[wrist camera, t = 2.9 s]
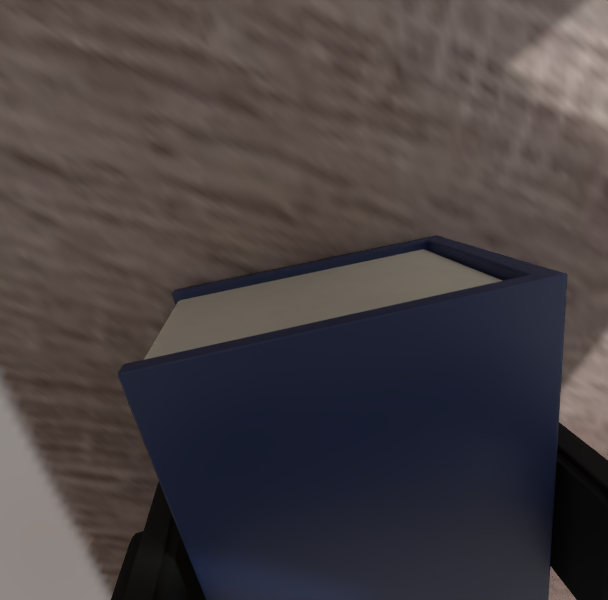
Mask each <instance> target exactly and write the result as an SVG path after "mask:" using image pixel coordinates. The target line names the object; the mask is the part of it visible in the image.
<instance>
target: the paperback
mask: <svg viewBox="0 0 608 600" xmlns="http://www.w3.org/2000/svg"><path fill="white" fill-rule="evenodd" d="M566 289H567V274H565V273H562V272H559V271H555V270H551V269H547V268H544V267H541V266H537V265H534V264H531V263H527V262H524V261H520V260H517V259H514V258H510V257H507V256H504V255H500V254H497V253H494V252H490V251H487V250H484V249H480V248H477V247H473V246H470V245H467V244H463V243H460V242H457V241H453V240H450V239H447V238H443V237H441V236H432V237H427V238H422V239H418V240H413V241H408V242H403V243H398V244H393V245H389V246H384V247H379V248H374V249H369V250H365V251H360V252H355V253H350V254H345V255H341V256H336V257H331V258H326V259H321V260H316V261H312V262H307V263H302V264H297V265H292V266H288V267H283V268H278V269H273V270H268V271H264V272H259V273H254V274H249V275H244V276H239V277H235V278H230V279H225V280H220V281H215V282H211V283H206V284H201V285H196V286H191V287H187V288H182V289H177V290H174V292H173V293H172V295H173V298H174V301H175V305H176V306H175V307H174V309H173V311H172V312H171V314H170V316H169V317H168V319H167V321H166V322H165V324H164V326H163V327H162V329H161V331H160V332H159V334H158V336H157V338H156V339H155V341H154V343H153V344H152V346H151V348H150V349H149V351H148V353H147V354H146V356H145V358H144V359H143V360H141V361H136V362H132V363H127V364H124V365H123V366H122V368H121V369H120V371H119V372H118V378H119V380H120V383H121V385H122V388H123V390H124V393H125V395H126V398H127V400H128V403H129V406H130V408H131V411H132V413H133V416H134V418H135V421H136V423H137V426H138V428H139V431H140V434H141V436H142V439H143V441H144V444H145V446H146V449H147V451H148V454H149V456H150V459H151V462H152V464H153V467H154V469H155V472H156V474H157V477H158V479H159V482H160V484H161V487H162V490H163V492H164V495H165V497H166V500H167V502H168V505H169V507H170V510H171V512H172V515H173V518H174V520H175V523H176V525H177V528H178V530H179V533H180V535H181V538H182V540H183V543H184V546H185V548H186V551H187V553H188V556H189V558H190V561H191V563H192V566H193V568H194V571H195V574H196V576H197V579H198V581H199V584H200V586H201V589H202V591H203V594H204V596H205V599H206V600H548V597H549V580H550V563H551V545H552V528H553V511H554V494H555V477H556V460H557V443H558V426H559V409H560V392H561V374H562V357H563V340H564V323H565V306H566Z"/></svg>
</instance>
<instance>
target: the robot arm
mask: <svg viewBox="0 0 608 600" xmlns="http://www.w3.org/2000/svg"><path fill="white" fill-rule="evenodd" d="M550 566H551V567H552V568H553V570H554V571H555V572H556V574H557V575H558V576H559V577H560V579H561V580H562V581H563V583H564V584H565V585H566V586H567V588H568V589H569V590H570V591H571V593H572V594H573V595H574V597H575V598H576V599H577V600H608V460H606V459H605V458H604V457H603V456H601V455H600V454H599V453H598V452H596V451H595V450H594V449H592V448H591V447H590V446H589V445H587V444H586V443H585V442H583V441H582V440H581V439H580V438H578V437H577V436H576V435H575V434H573V433H572V432H571V431H569V430H568V429H567V428H566V427H564V426H563V425H562V424H560V423H559V426H558V443H557V460H556V477H555V494H554V511H553V528H552V545H551V563H550ZM111 600H206V599H205V596H204V594H203V591H202V589H201V586H200V584H199V581H198V579H197V576H196V574H195V571H194V568H193V566H192V563H191V561H190V558H189V556H188V553H187V551H186V548H185V546H184V543H183V540H182V538H181V535H180V533H179V530H178V528H177V525H176V523H175V520H174V518H173V515H172V512H171V510H170V507H169V505H168V502H167V500H166V497H165V495H164V492H163V490H162V487H161V484H160V482H158V485H157V489H156V492H155V495H154V499H153V502H152V505H151V508H150V512H149V515H148V518H147V522H146V525H145V528H144V531H143V532H139V533H136V534H135V535H134V536H133V537H132V539H131V542H130V544H129V547H128V550H127V553H126V556H125V559H124V562H123V565H122V568H121V571H120V574H119V577H118V580H117V583H116V586H115V589H114V592H113V595H112V598H111Z"/></svg>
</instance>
